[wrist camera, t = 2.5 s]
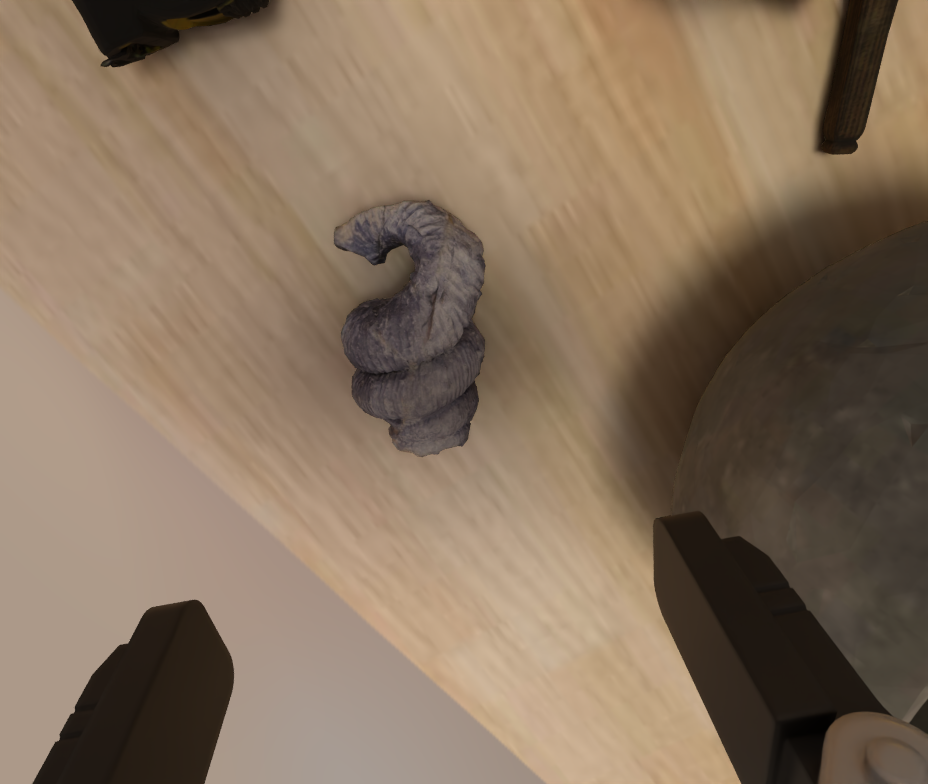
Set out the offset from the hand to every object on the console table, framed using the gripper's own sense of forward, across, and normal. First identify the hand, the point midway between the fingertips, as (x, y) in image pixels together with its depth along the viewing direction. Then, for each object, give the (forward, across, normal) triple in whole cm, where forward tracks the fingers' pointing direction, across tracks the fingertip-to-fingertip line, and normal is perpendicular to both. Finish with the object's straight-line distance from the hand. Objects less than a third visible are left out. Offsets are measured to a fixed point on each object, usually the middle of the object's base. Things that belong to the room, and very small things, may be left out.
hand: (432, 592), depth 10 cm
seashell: (+15, 0, 0) cm, 15 cm away
